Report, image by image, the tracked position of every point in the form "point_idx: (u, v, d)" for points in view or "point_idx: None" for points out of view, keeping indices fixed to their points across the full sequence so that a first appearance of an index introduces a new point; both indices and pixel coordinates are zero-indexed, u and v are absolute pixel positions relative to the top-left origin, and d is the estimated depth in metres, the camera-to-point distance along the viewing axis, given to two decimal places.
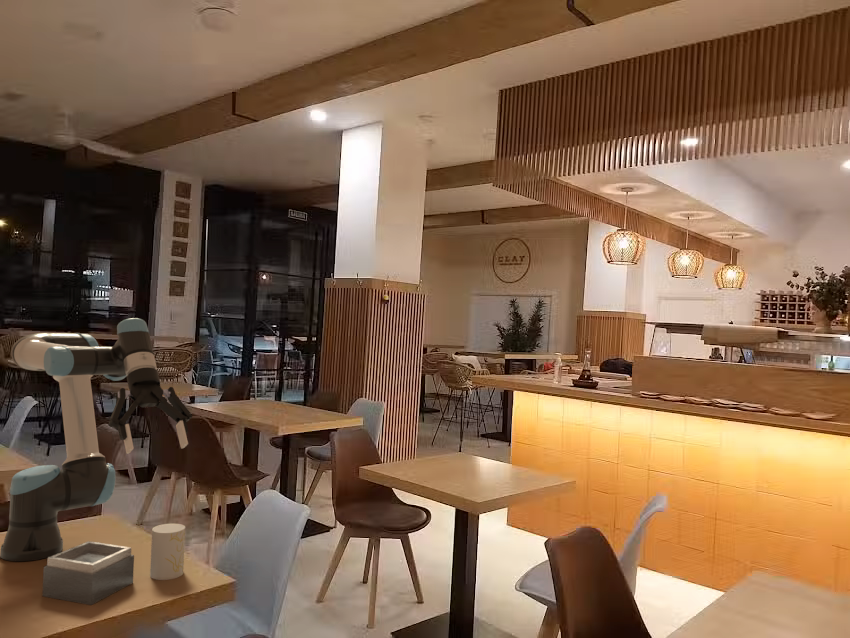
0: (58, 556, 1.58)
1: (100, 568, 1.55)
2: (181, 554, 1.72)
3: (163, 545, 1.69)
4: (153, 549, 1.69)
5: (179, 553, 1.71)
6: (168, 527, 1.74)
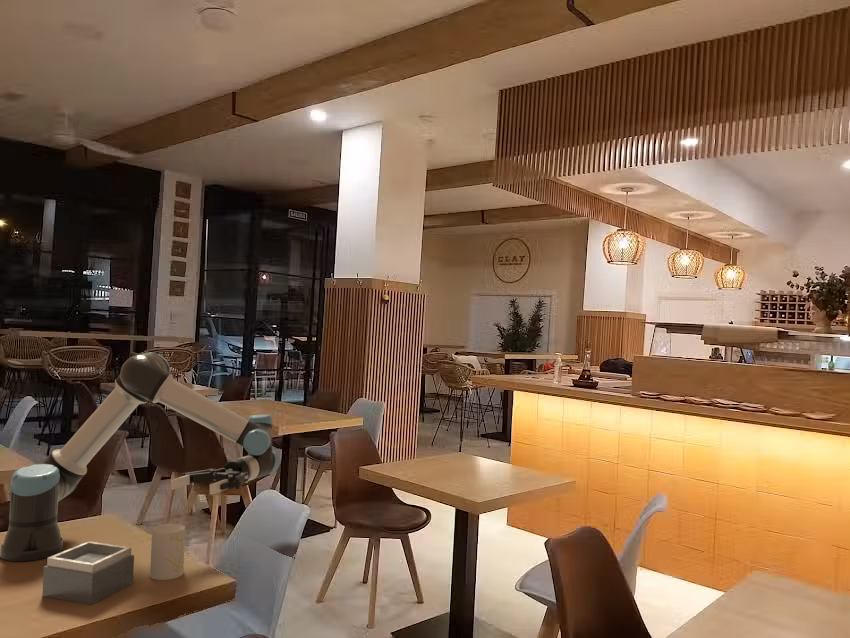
0: (58, 556, 1.58)
1: (100, 568, 1.55)
2: (181, 554, 1.72)
3: (163, 545, 1.69)
4: (153, 549, 1.69)
5: (179, 553, 1.71)
6: (168, 527, 1.74)
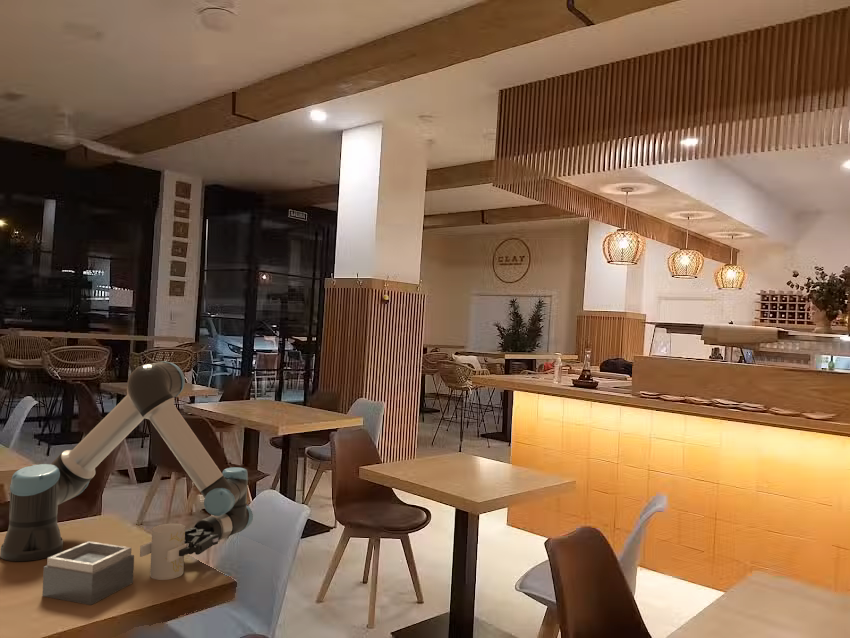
0: (58, 556, 1.58)
1: (100, 568, 1.55)
2: None
3: (163, 545, 1.69)
4: (153, 549, 1.69)
5: None
6: (168, 526, 1.74)
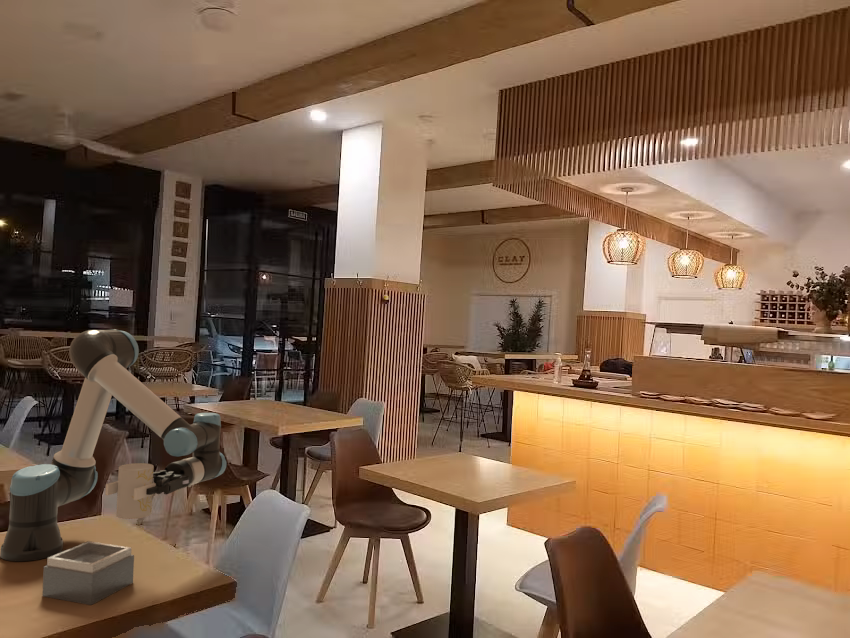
0: (58, 556, 1.58)
1: (100, 568, 1.55)
2: None
3: (130, 482, 1.62)
4: (119, 487, 1.63)
5: None
6: (135, 465, 1.67)
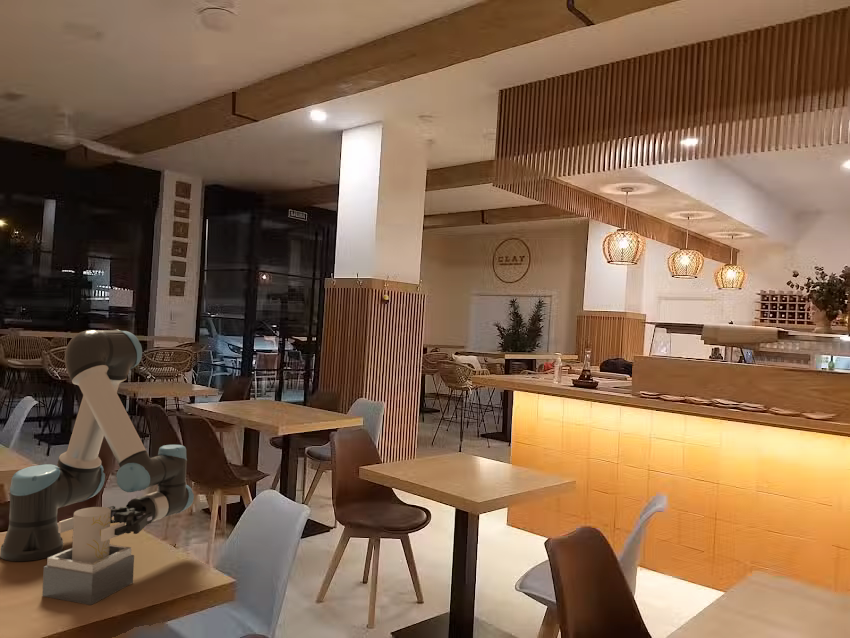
0: (58, 556, 1.58)
1: (100, 568, 1.55)
2: None
3: (84, 529, 1.57)
4: (74, 534, 1.58)
5: None
6: (92, 510, 1.62)
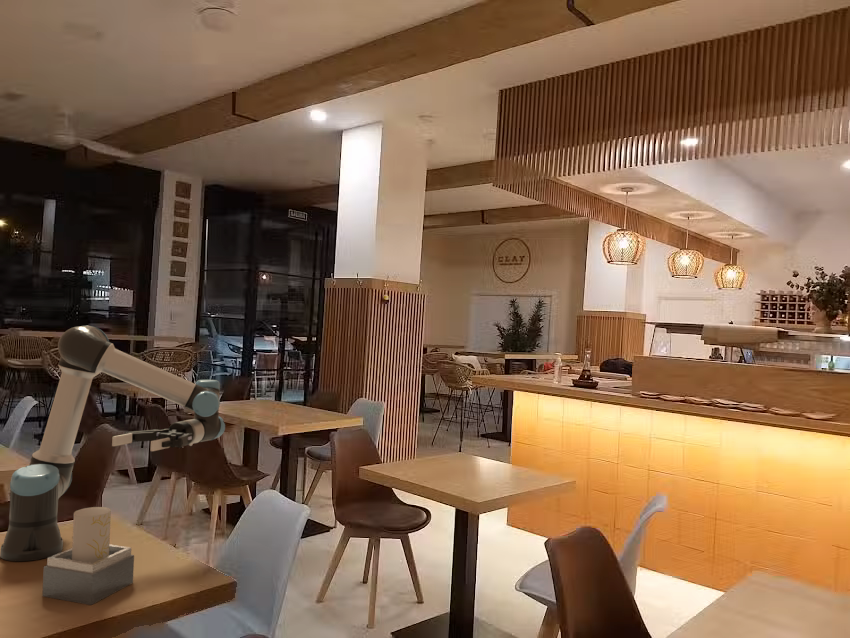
0: (58, 556, 1.58)
1: (100, 568, 1.55)
2: (105, 539, 1.60)
3: (84, 529, 1.57)
4: (74, 534, 1.58)
5: (102, 538, 1.59)
6: (92, 510, 1.62)
